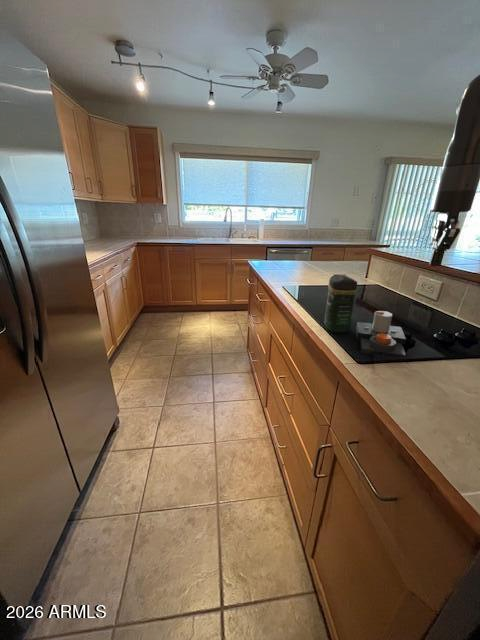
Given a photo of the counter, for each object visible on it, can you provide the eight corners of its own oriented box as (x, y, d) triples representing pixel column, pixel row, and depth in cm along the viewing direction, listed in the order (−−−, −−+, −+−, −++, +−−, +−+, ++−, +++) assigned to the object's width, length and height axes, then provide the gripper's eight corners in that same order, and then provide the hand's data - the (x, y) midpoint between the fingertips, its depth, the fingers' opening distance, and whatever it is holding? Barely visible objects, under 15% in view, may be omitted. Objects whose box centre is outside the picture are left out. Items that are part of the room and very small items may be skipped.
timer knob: (388, 327, 84) (392, 311, 81) (389, 334, 80) (393, 316, 77) (371, 325, 85) (374, 309, 83) (371, 331, 81) (375, 314, 79)
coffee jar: (353, 334, 87) (362, 279, 79) (329, 334, 87) (336, 280, 79) (343, 322, 96) (350, 272, 88) (321, 322, 96) (327, 272, 88)
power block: (400, 348, 78) (403, 337, 76) (404, 360, 72) (407, 349, 70) (360, 342, 81) (362, 332, 80) (360, 353, 75) (362, 342, 74)
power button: (389, 339, 76) (390, 334, 75) (390, 345, 73) (392, 339, 72) (375, 337, 77) (376, 332, 77) (376, 343, 74) (377, 337, 74)
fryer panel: (399, 335, 85) (401, 326, 84) (403, 348, 78) (406, 338, 76) (356, 329, 90) (357, 321, 89) (356, 341, 82) (358, 332, 81)
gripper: (489, 186, 52) (461, 272, 59) (464, 189, 63) (444, 261, 70) (444, 188, 55) (423, 270, 62) (428, 191, 66) (412, 260, 73)
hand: (434, 265), depth 66 cm, fingers closed
